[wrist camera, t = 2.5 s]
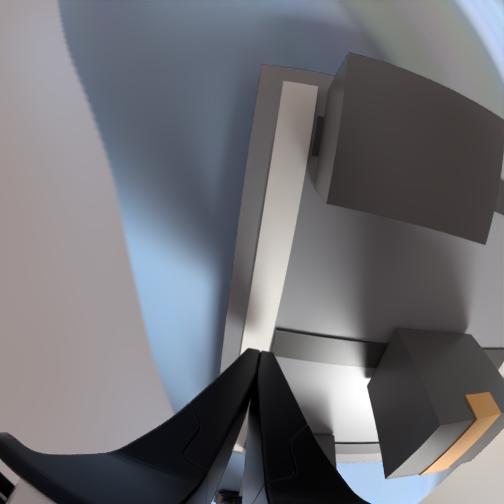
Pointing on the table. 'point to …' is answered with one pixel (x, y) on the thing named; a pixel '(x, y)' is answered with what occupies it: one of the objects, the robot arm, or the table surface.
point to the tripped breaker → (434, 401)
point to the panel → (363, 234)
